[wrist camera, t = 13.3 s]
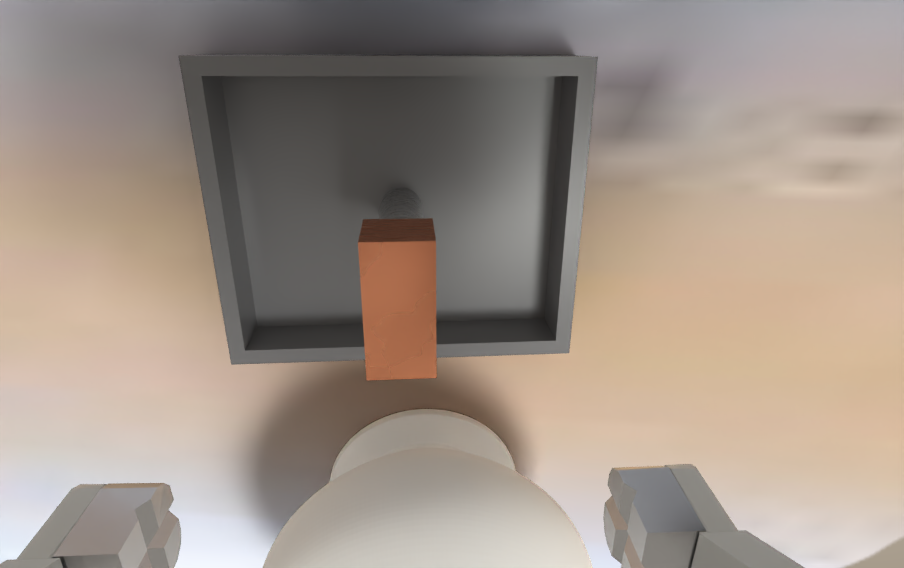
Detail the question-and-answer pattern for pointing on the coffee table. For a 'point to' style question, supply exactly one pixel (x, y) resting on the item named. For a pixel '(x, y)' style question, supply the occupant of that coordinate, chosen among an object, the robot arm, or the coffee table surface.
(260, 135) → the tray
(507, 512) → the decorative vase
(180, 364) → the coffee table surface
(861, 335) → the coffee table surface
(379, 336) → the pin
